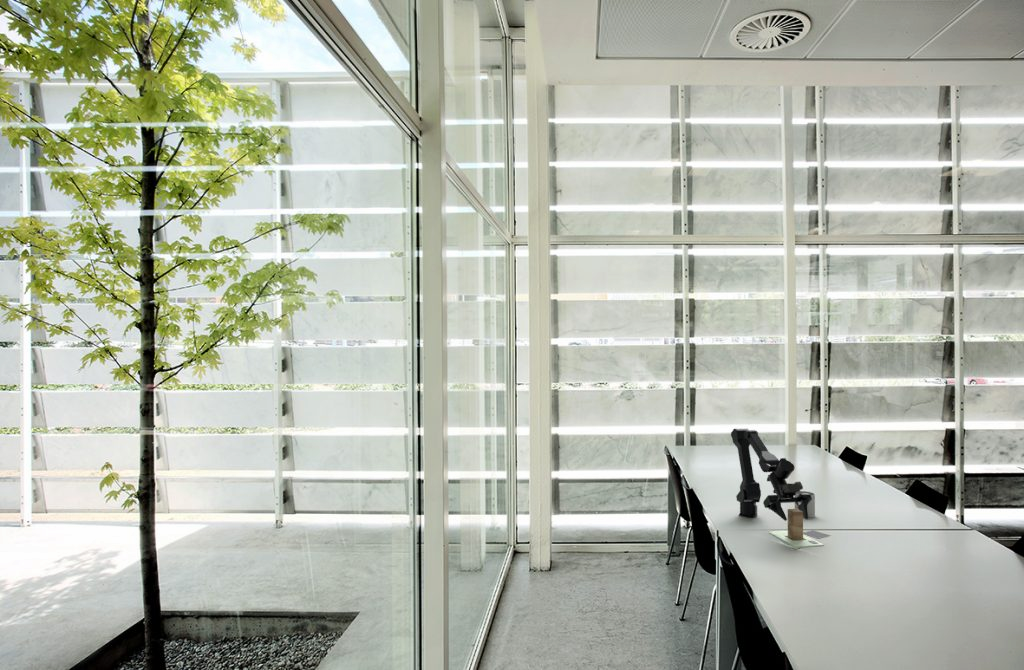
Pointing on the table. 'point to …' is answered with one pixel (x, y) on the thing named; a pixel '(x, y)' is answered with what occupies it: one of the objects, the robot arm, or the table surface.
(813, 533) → the pad
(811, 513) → the cup
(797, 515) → the post
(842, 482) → the table surface
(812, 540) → the flange plate
